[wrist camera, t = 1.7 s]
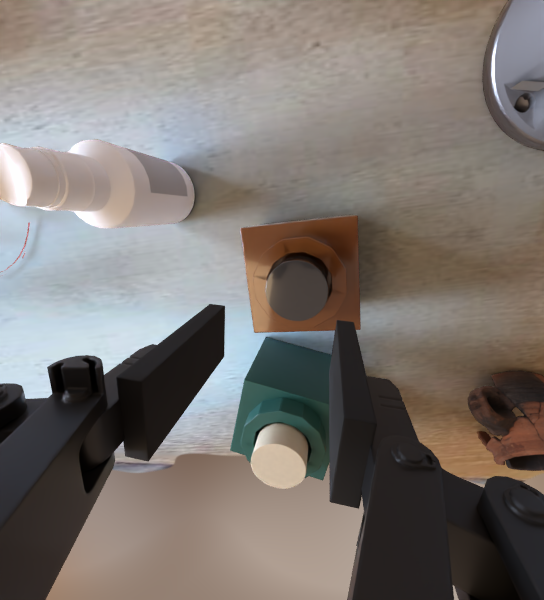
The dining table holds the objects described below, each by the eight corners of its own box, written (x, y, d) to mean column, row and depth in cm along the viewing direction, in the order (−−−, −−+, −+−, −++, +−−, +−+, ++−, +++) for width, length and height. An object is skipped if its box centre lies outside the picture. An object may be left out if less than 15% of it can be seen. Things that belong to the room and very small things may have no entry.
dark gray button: (326, 252, 23) (326, 257, 21) (329, 309, 24) (330, 320, 22) (268, 257, 24) (261, 262, 22) (274, 312, 25) (268, 322, 23)
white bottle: (197, 165, 32) (51, 113, 15) (194, 227, 34) (64, 243, 17) (141, 158, 33) (-55, 102, 16) (142, 219, 35) (-30, 227, 18)
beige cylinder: (313, 432, 26) (312, 454, 23) (301, 471, 27) (298, 496, 25) (262, 416, 26) (256, 436, 24) (253, 455, 28) (246, 478, 26)
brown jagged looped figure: (574, 379, 32) (628, 462, 26) (497, 408, 39) (527, 478, 33) (487, 350, 30) (526, 434, 24) (422, 386, 37) (440, 458, 31)
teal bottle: (343, 357, 36) (349, 425, 24) (324, 415, 39) (322, 499, 27) (265, 336, 37) (238, 391, 26) (253, 394, 40) (223, 466, 28)
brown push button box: (350, 214, 31) (360, 215, 21) (353, 303, 34) (363, 339, 24) (260, 224, 33) (232, 229, 23) (269, 307, 36) (248, 341, 26)
